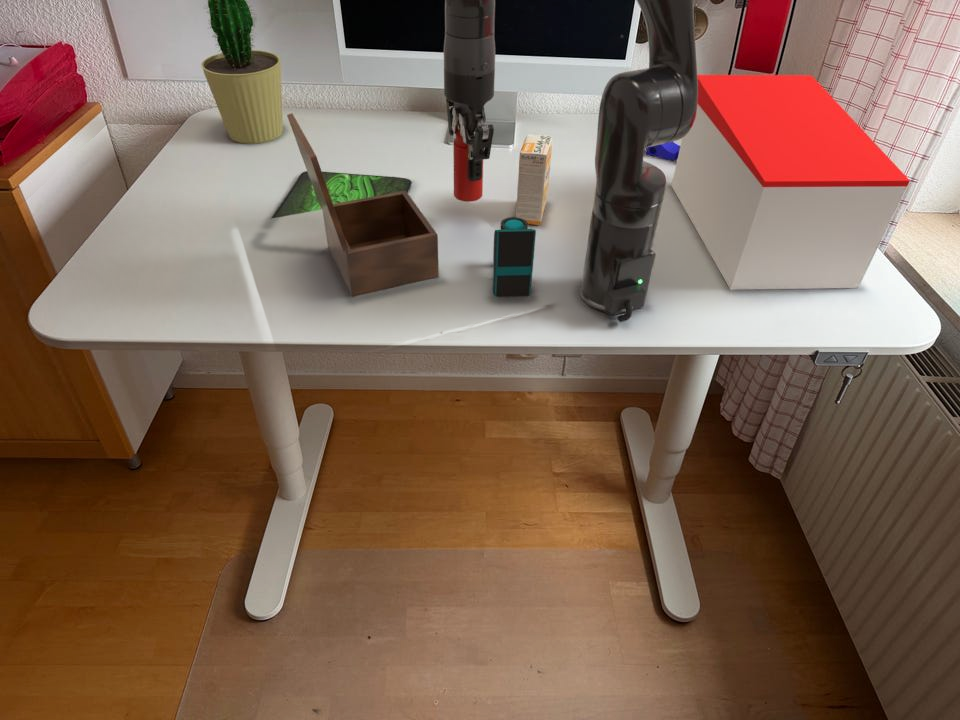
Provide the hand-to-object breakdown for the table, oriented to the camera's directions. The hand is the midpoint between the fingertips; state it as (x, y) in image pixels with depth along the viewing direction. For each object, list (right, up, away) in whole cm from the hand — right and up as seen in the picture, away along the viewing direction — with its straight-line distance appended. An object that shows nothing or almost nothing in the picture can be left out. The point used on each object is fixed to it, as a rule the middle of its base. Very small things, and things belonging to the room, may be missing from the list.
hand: (468, 172), depth 109 cm
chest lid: (-21, -6, -15) cm, 26 cm away
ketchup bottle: (0, -3, +3) cm, 4 cm away
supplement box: (+11, -4, +12) cm, 17 cm away
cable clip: (+43, +12, +31) cm, 54 cm away
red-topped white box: (+50, -8, +9) cm, 52 cm away
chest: (-14, -16, -2) cm, 21 cm away
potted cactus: (-46, +18, +36) cm, 61 cm away
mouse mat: (-23, -4, +11) cm, 26 cm away
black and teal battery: (+6, -19, -5) cm, 20 cm away
